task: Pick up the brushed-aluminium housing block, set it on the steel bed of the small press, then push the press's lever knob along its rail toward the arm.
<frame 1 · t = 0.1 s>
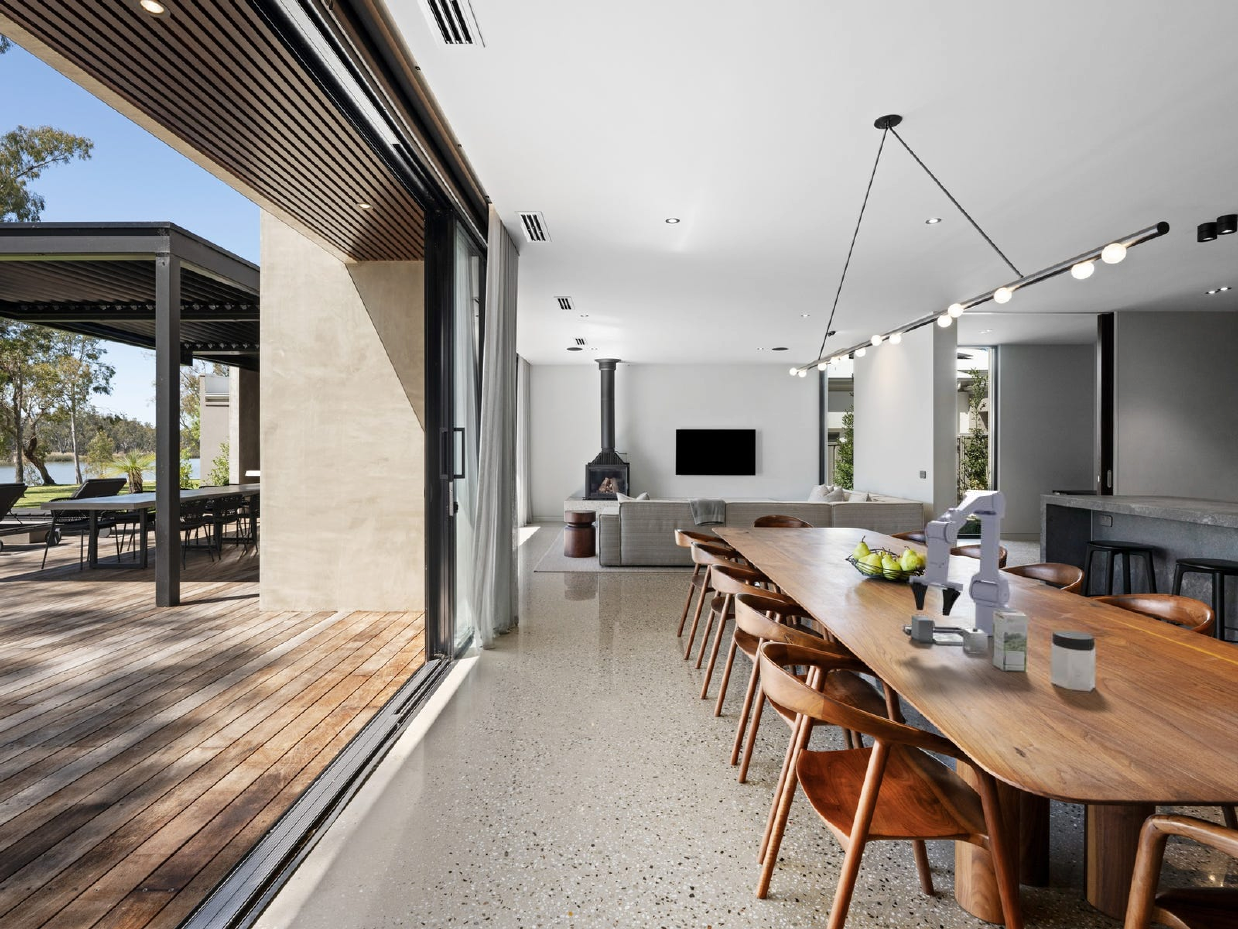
hand: (932, 612, 179), 10 cm above the table, tool pointing down, fingers open, 7 cm apart
syrup box: (1009, 669, 164), on the table
lever: (919, 623, 197), point 3 cm above the table, slide at 0.0 cm
jar: (1072, 686, 152), on the table
housing: (974, 650, 179), on the table
press: (946, 640, 189), on the table
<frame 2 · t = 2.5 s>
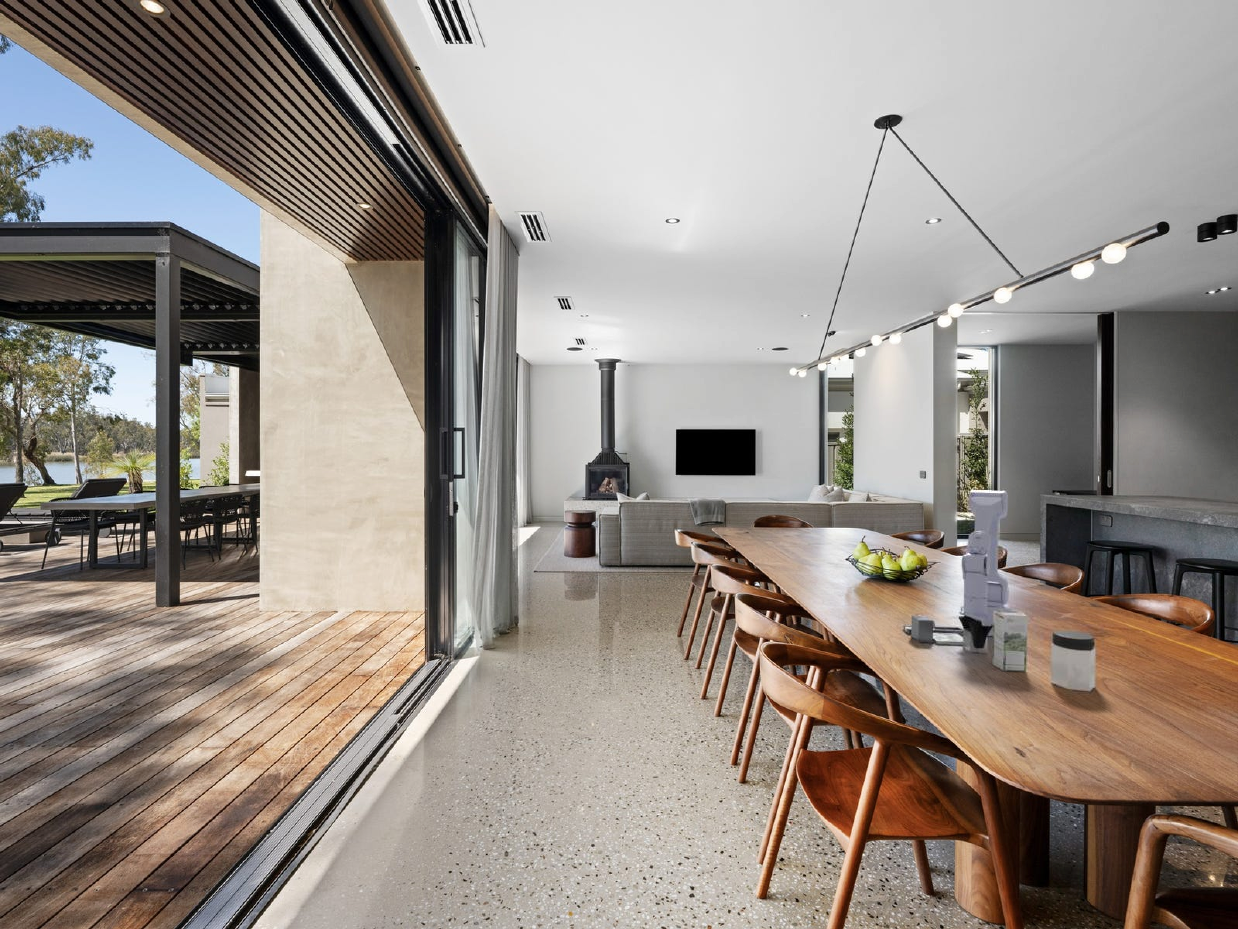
hand: (974, 645, 179), 1 cm above the table, tool pointing down, fingers closed on housing, 4 cm apart
housing: (974, 650, 179), on the table, touching gripper
everything else where it was.
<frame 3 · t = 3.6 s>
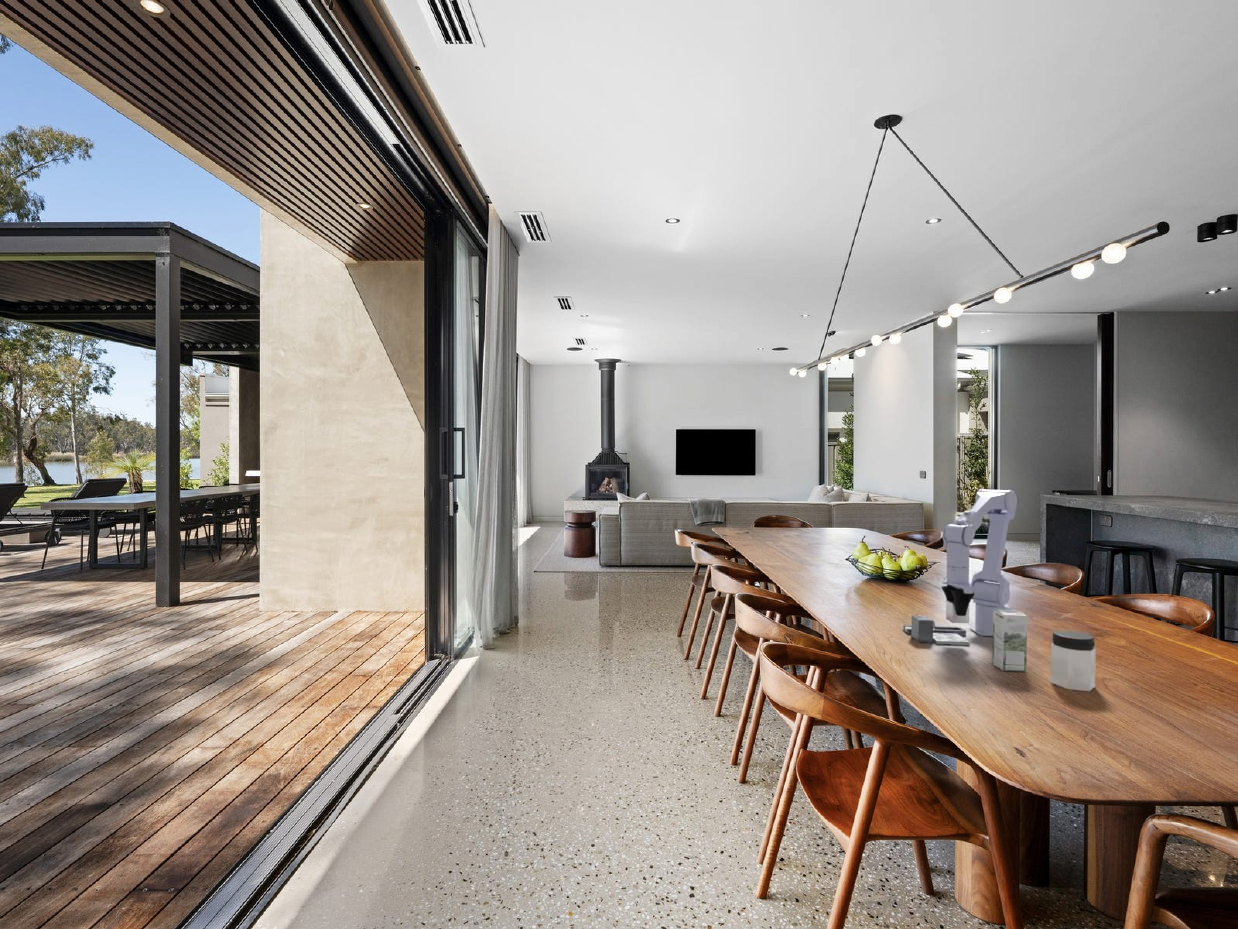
hand: (957, 613, 185), 9 cm above the table, tool pointing down, fingers closed on housing, 4 cm apart
housing: (957, 621, 185), point 7 cm above the table, touching gripper
everything else where it was.
when the fingers open (3 cm above the table, at t = 4.9 s): housing stays where it is, resting on press.
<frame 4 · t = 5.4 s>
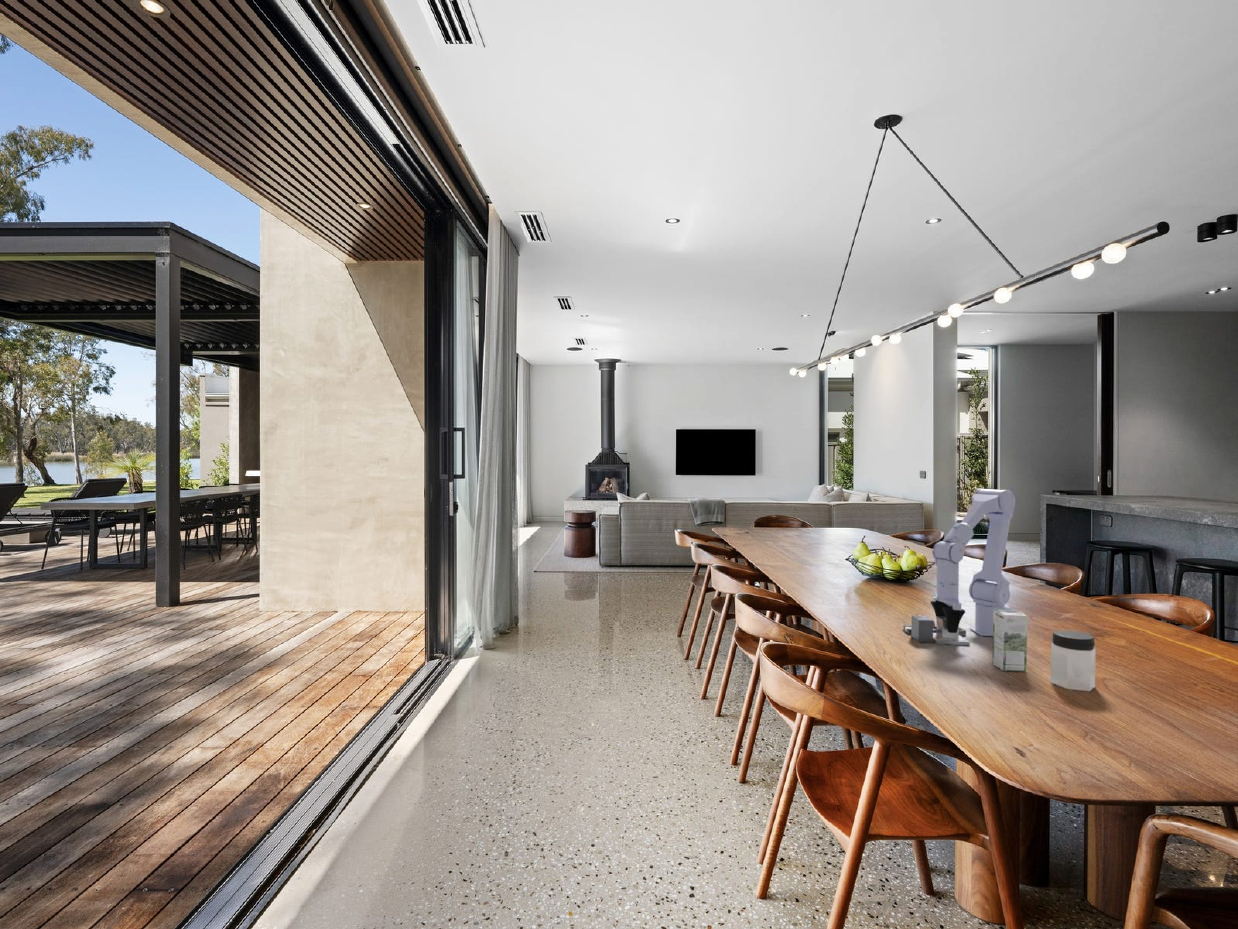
hand: (947, 629, 189), 3 cm above the table, tool pointing down, fingers open, 7 cm apart
housing: (947, 637, 189), point 1 cm above the table, touching press
everything else where it was.
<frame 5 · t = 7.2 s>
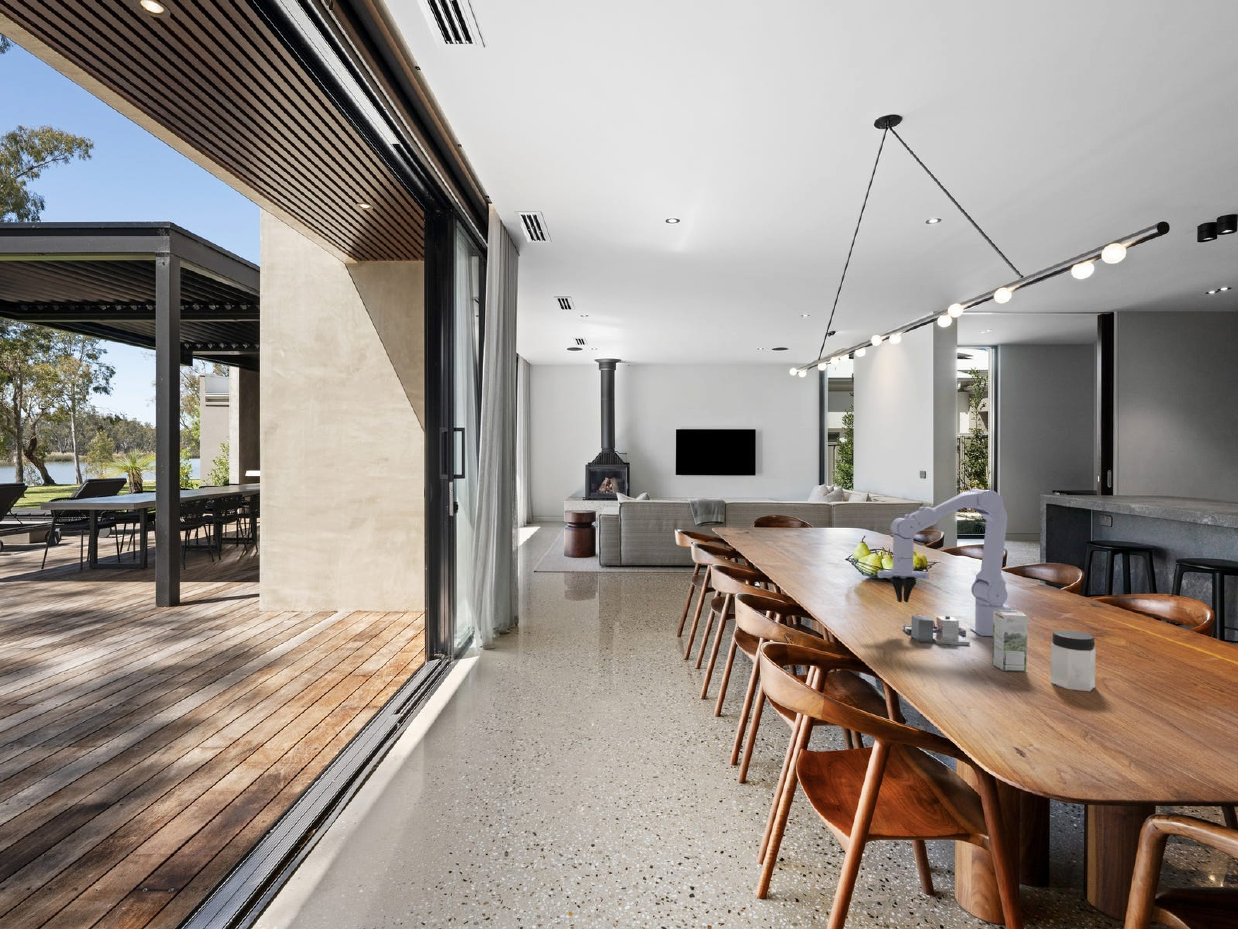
hand: (902, 601, 198), 9 cm above the table, tool pointing down, fingers closed
nothing on the table moved.
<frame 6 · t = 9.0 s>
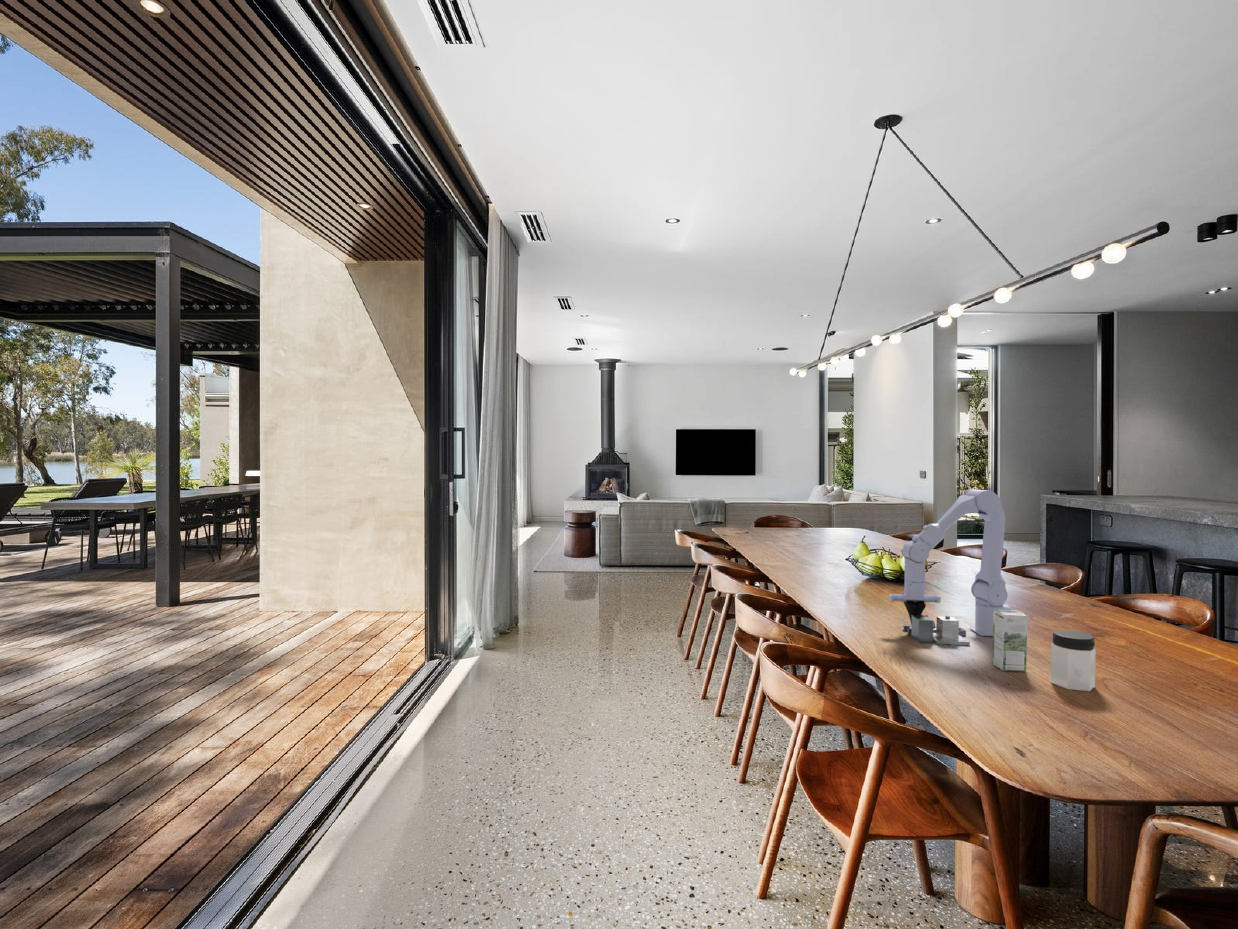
hand: (914, 625, 197), 2 cm above the table, tool pointing down, fingers closed
lever: (923, 623, 197), point 3 cm above the table, slide at 1.3 cm, touching gripper
everything else where it was.
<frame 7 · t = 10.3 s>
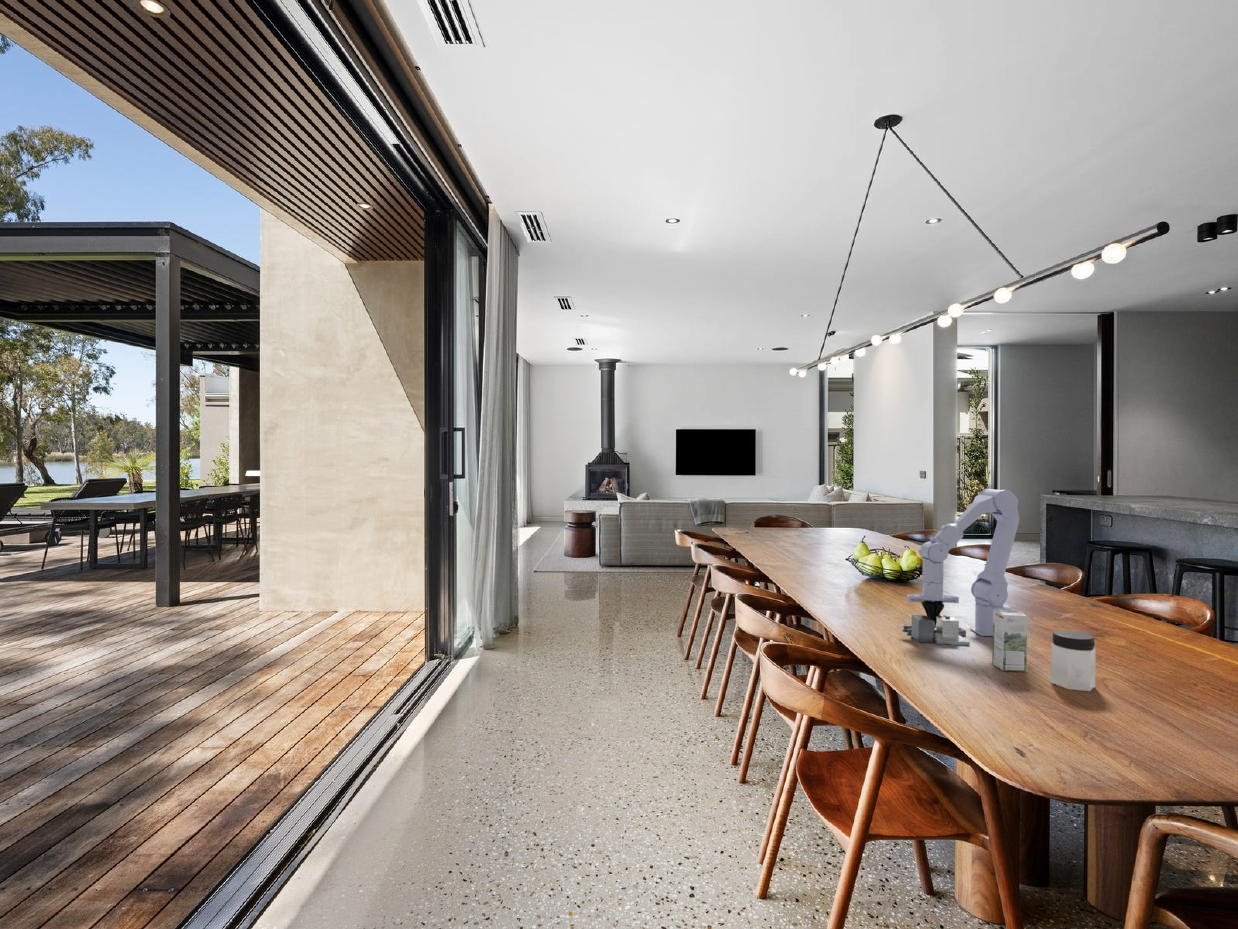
hand: (932, 625, 197), 2 cm above the table, tool pointing down, fingers closed
lever: (941, 624, 196), point 3 cm above the table, slide at 6.6 cm, touching gripper
everything else where it was.
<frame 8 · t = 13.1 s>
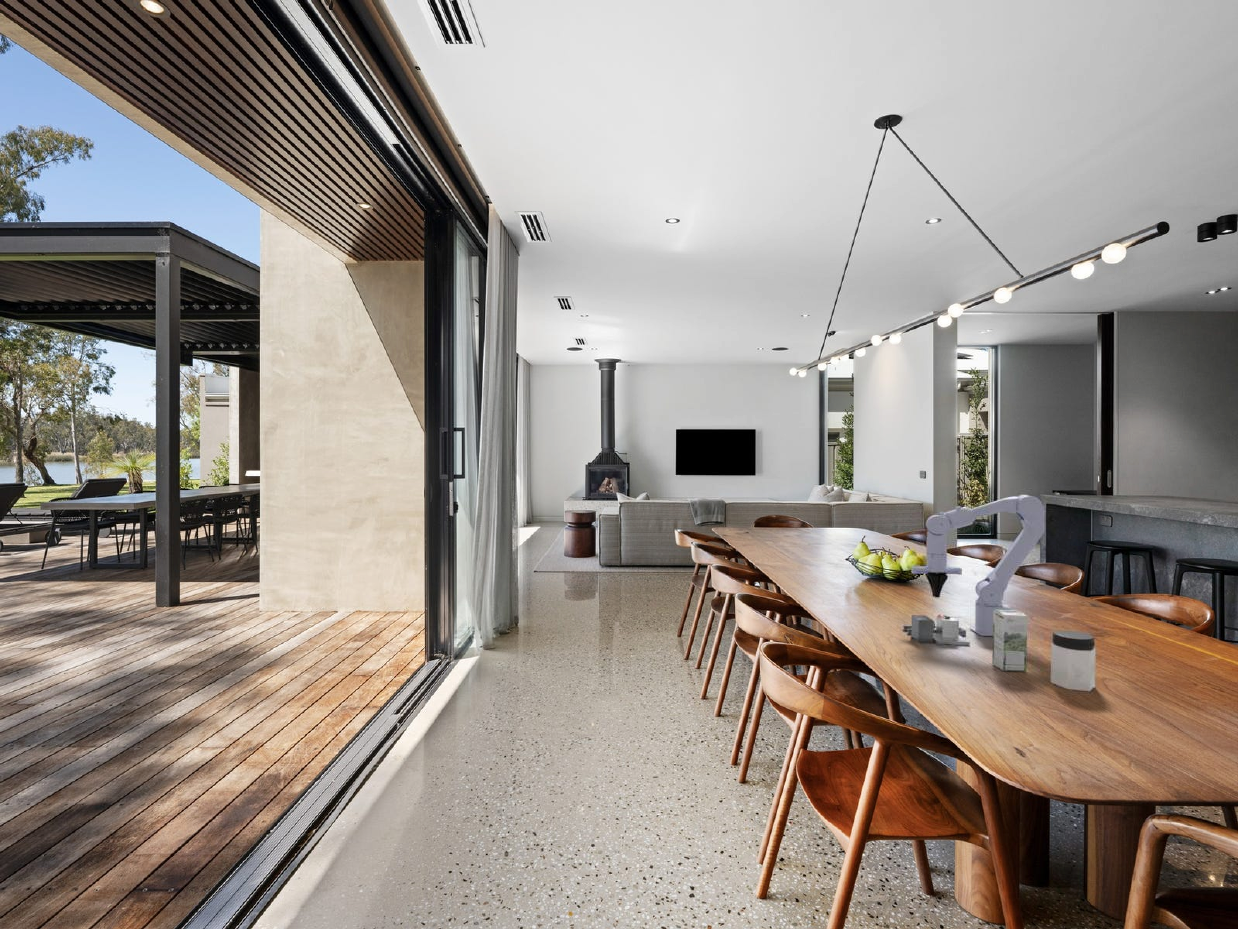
hand: (936, 596, 202), 10 cm above the table, tool pointing down, fingers closed
lever: (941, 624, 196), point 3 cm above the table, slide at 6.6 cm
everything else where it was.
at the end: housing 0.1 cm off-centre on the press, point 1.0 cm above the press's base; housing tilted 0°; lever slide at 6.6 cm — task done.
